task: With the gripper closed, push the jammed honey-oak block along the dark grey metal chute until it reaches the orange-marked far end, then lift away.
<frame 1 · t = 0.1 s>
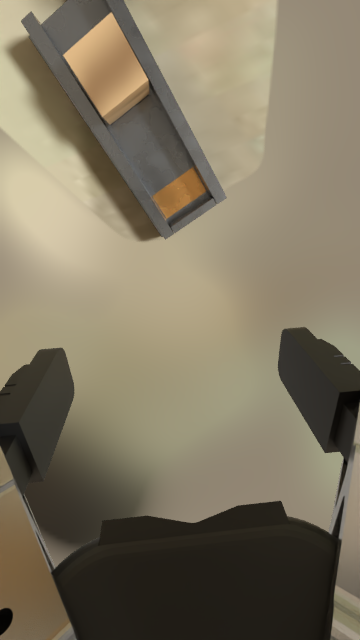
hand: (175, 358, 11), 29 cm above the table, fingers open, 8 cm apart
chute: (138, 126, 32), on the table
oak block: (110, 76, 27), point 4 cm above the table, slide at 0.0 cm
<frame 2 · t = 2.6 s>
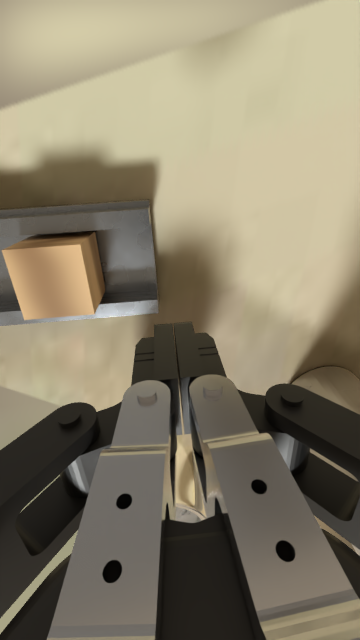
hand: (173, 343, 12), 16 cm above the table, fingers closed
chute: (27, 263, 26), on the table
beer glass: (159, 384, 33), on the table
oak block: (61, 273, 22), point 4 cm above the table, slide at 0.0 cm
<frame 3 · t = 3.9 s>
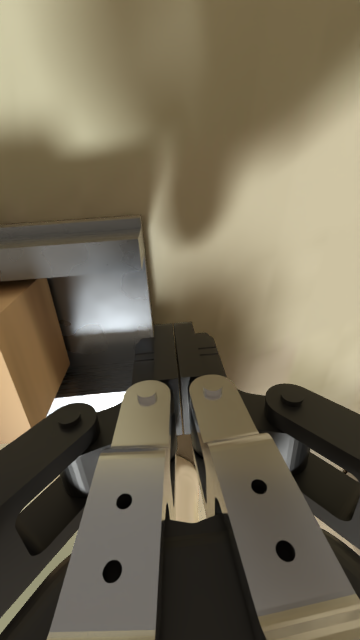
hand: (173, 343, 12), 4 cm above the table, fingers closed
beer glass: (158, 477, 22), on the table
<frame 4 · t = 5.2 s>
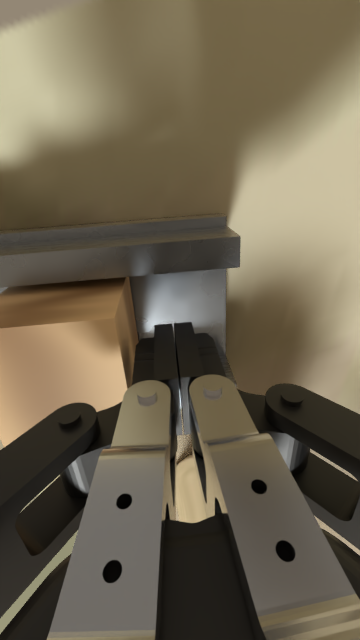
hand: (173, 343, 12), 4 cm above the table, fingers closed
chute: (17, 318, 16), on the table
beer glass: (210, 473, 23), on the table
oak block: (72, 350, 12), point 4 cm above the table, slide at 0.2 cm, touching gripper
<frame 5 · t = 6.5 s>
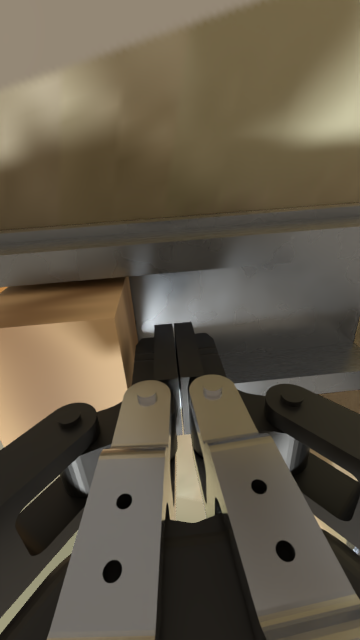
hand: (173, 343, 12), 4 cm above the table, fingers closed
chute: (155, 306, 16), on the table
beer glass: (303, 462, 23), on the table
oak block: (71, 350, 12), point 4 cm above the table, slide at 7.5 cm, touching gripper
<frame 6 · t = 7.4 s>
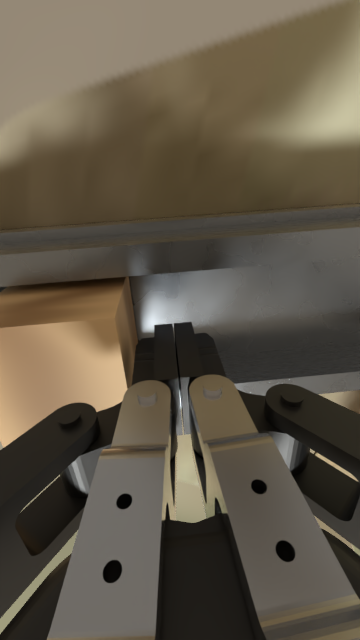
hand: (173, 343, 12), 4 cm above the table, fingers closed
chute: (219, 300, 16), on the table
oak block: (71, 350, 12), point 4 cm above the table, slide at 11.0 cm, touching gripper
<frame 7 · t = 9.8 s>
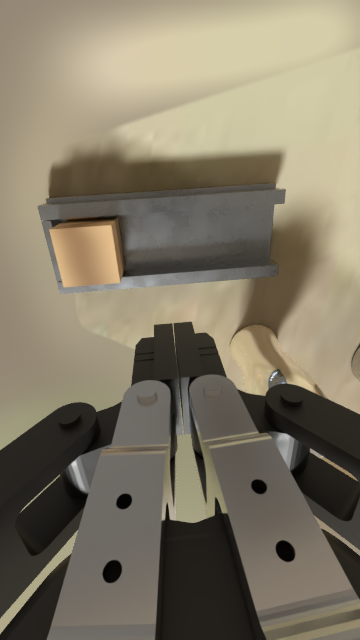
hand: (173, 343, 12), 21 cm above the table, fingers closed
chute: (166, 236, 31), on the table
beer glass: (252, 344, 38), on the table
oak block: (91, 250, 27), point 4 cm above the table, slide at 11.0 cm
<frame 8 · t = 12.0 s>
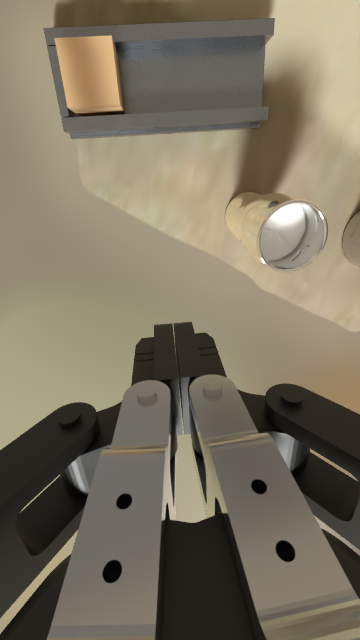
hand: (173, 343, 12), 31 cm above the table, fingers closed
chute: (163, 86, 33), on the table
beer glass: (246, 215, 40), on the table
oak block: (93, 80, 29), point 4 cm above the table, slide at 11.0 cm
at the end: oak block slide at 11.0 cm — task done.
